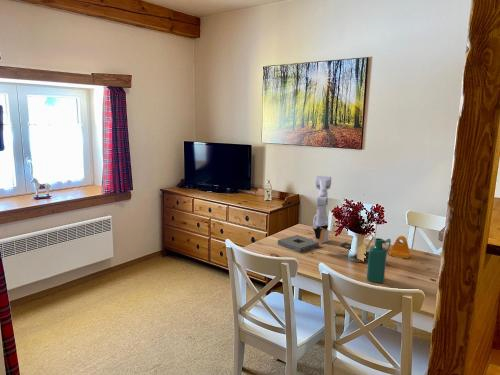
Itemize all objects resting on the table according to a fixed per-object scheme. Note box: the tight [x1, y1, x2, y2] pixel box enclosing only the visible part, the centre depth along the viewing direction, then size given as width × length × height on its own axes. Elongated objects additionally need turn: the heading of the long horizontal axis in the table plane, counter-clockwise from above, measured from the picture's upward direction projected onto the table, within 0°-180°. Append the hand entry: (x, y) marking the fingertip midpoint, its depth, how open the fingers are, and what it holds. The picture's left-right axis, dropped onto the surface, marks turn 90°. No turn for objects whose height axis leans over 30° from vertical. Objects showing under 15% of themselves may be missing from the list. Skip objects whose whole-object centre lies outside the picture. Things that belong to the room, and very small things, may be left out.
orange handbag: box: [388, 235, 411, 259], centre depth 231 cm, size 11×7×12 cm, turn 58°
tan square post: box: [315, 228, 326, 244], centre depth 233 cm, size 4×4×8 cm
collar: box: [277, 234, 320, 253], centre depth 245 cm, size 19×19×3 cm
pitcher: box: [366, 237, 392, 284], centre depth 195 cm, size 10×8×22 cm
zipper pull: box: [339, 241, 369, 264], centre depth 226 cm, size 9×7×25 cm
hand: (319, 237), depth 233 cm, fingers closed on tan square post, 5 cm apart
